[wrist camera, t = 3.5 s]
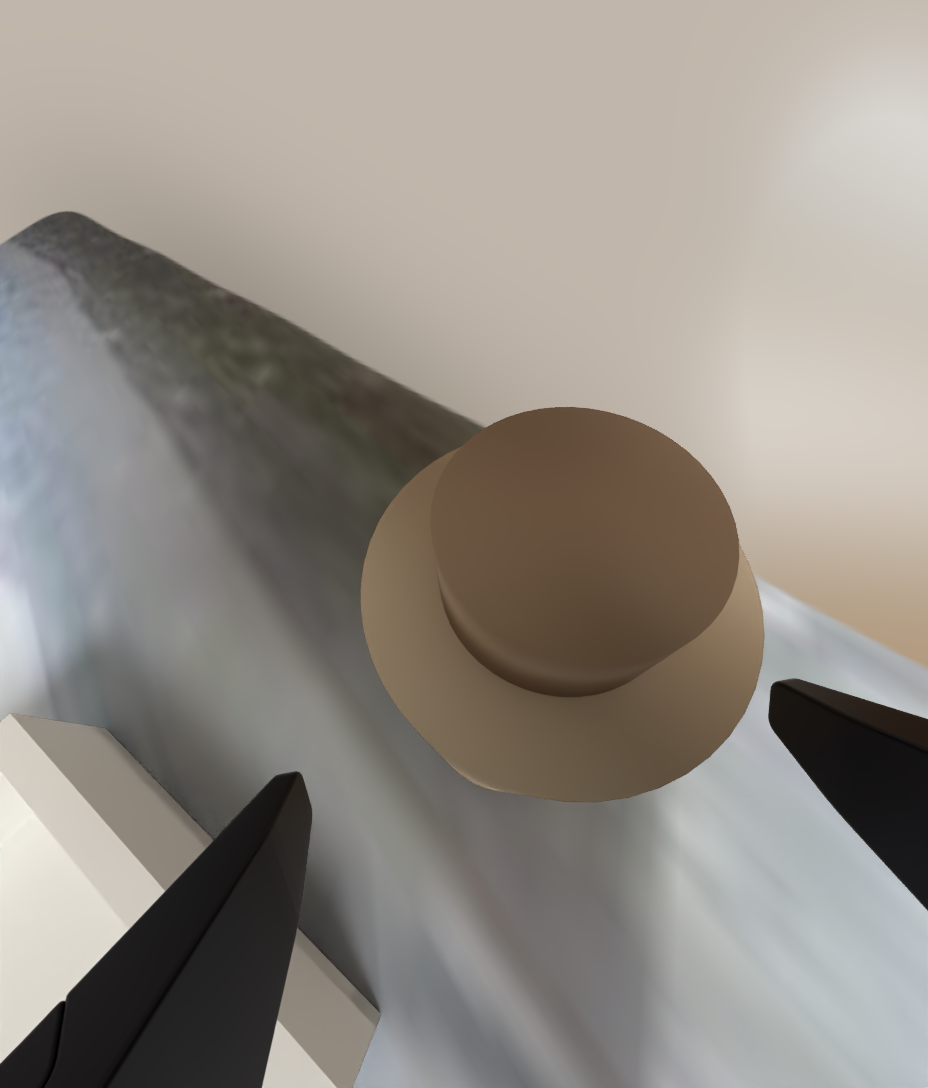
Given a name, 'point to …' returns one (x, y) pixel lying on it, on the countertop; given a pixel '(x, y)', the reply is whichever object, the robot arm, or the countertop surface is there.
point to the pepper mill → (565, 607)
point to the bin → (127, 894)
